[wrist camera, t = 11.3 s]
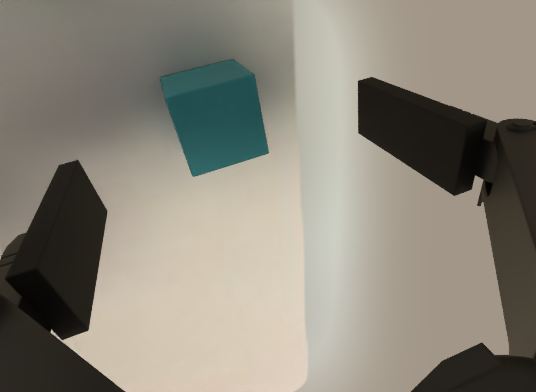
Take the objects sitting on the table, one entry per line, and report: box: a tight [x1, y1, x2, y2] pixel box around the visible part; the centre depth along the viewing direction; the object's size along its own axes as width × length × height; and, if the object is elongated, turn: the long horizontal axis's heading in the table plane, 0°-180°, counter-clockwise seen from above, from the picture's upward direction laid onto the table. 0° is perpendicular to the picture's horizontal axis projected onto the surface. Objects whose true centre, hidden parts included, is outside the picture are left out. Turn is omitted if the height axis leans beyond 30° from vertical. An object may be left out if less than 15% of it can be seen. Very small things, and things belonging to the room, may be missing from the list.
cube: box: [160, 59, 269, 177], centre depth 18 cm, size 4×4×4 cm
